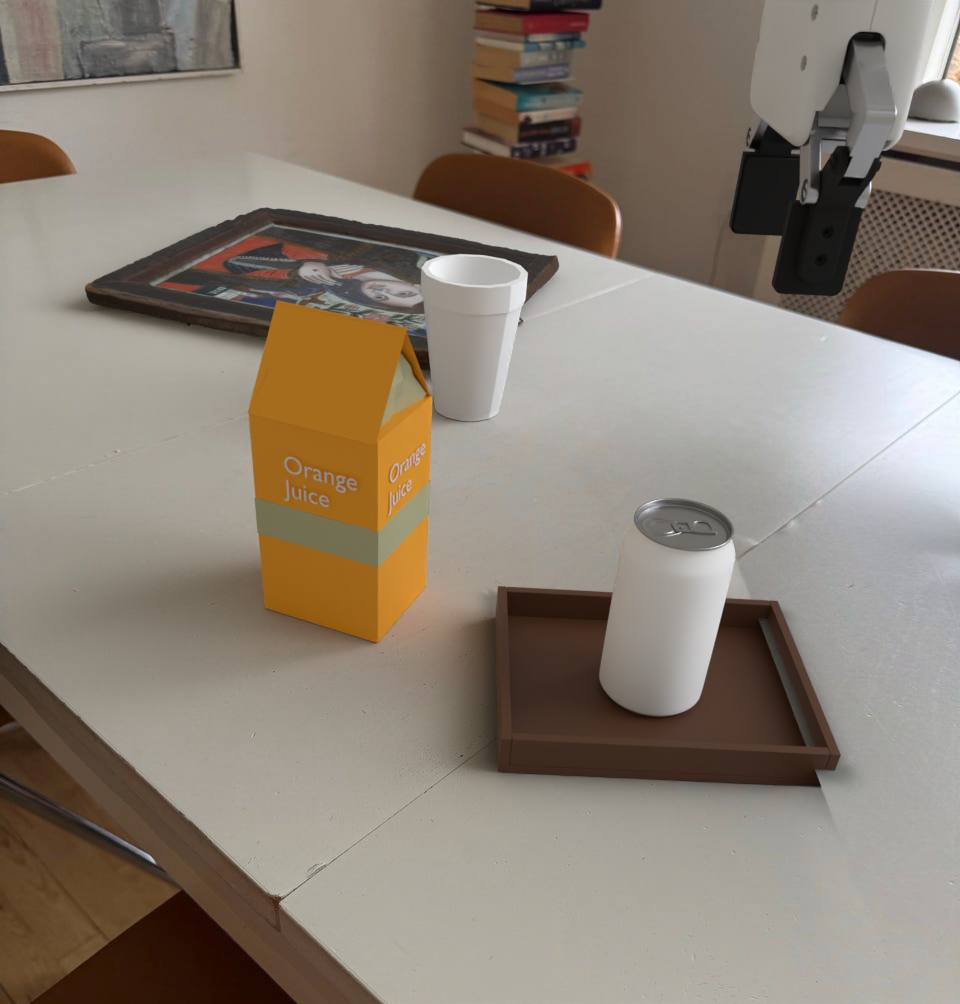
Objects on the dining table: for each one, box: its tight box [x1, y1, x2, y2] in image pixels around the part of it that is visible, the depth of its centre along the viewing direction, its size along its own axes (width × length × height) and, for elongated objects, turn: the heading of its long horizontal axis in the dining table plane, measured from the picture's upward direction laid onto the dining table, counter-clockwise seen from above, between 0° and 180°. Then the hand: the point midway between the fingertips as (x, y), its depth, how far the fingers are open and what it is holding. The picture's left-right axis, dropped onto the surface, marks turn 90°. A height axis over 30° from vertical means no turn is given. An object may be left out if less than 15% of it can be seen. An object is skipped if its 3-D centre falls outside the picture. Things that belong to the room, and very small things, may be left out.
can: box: [599, 497, 736, 717], centre depth 59 cm, size 6×6×12 cm
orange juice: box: [247, 300, 433, 644], centre depth 64 cm, size 8×9×20 cm
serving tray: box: [494, 585, 842, 788], centre depth 63 cm, size 19×15×3 cm
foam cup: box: [421, 254, 528, 422], centre depth 93 cm, size 10×9×13 cm
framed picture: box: [84, 206, 560, 372], centre depth 120 cm, size 40×45×3 cm
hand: (779, 260), depth 51 cm, fingers open, 9 cm apart
